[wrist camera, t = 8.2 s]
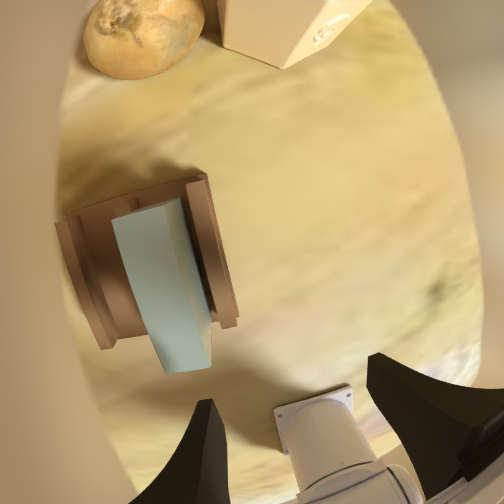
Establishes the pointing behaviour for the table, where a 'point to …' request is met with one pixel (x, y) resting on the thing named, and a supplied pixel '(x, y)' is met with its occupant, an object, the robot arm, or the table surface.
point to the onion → (141, 35)
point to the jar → (284, 27)
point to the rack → (112, 267)
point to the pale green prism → (167, 283)
